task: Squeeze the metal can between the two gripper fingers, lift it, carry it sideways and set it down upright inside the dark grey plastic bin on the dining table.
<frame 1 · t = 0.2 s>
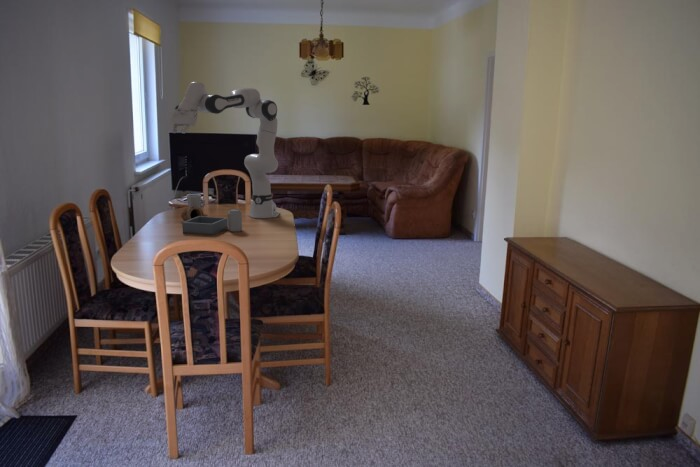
hand: (178, 132, 299), 54 cm above the table, tool tilted 30°, fingers open, 8 cm apart
cup: (196, 213, 360), on the table
clay pipe: (193, 222, 335), on the table
bin: (205, 230, 312), on the table
can: (235, 231, 312), on the table
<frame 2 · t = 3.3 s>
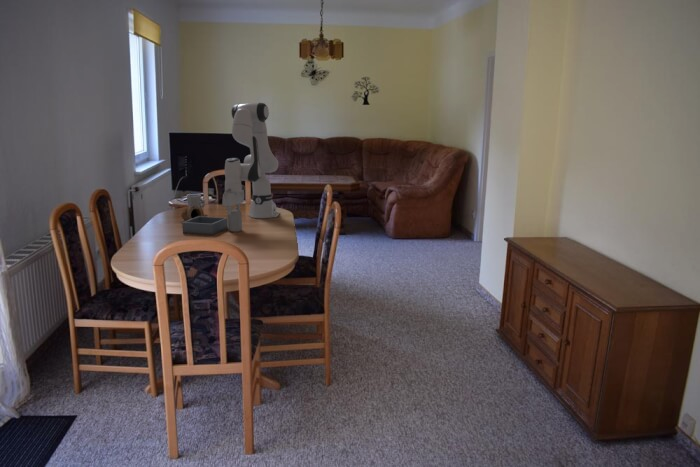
hand: (233, 212, 309), 10 cm above the table, tool pointing down, fingers open, 8 cm apart
can: (235, 231, 312), on the table, touching gripper
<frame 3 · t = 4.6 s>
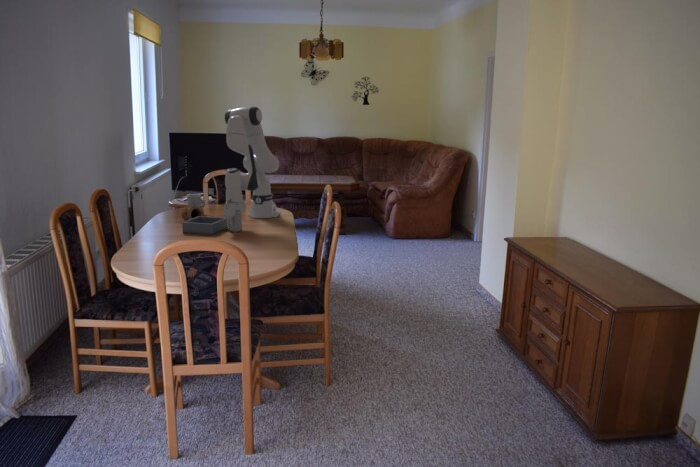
hand: (235, 222, 311), 5 cm above the table, tool pointing down, fingers closed on can, 7 cm apart
can: (235, 231, 312), on the table, touching gripper
when the fingers open (20 cm above the table, at t = 7.2 s): can drops 8 cm, resting on bin.
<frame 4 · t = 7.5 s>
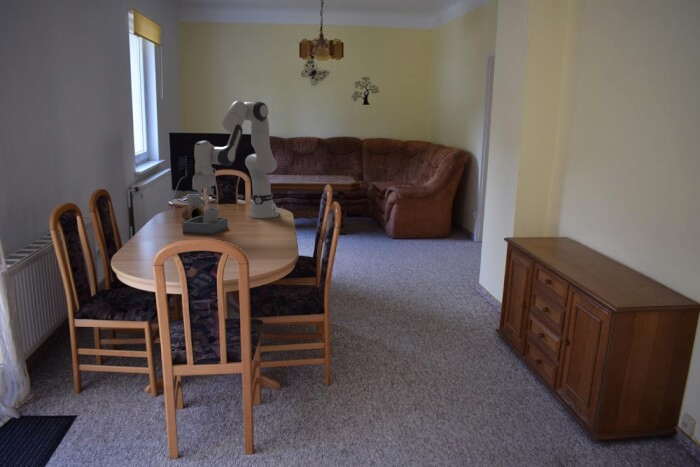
hand: (204, 196, 307), 19 cm above the table, tool pointing down, fingers open, 7 cm apart
can: (208, 227, 310), point 2 cm above the table, touching bin
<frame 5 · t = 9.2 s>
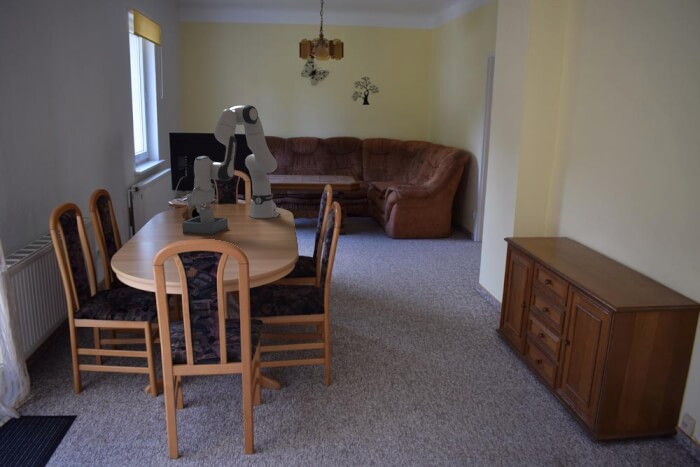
hand: (203, 211, 308), 11 cm above the table, tool pointing down, fingers open, 7 cm apart
can: (208, 228, 311), point 1 cm above the table, touching bin, gripper
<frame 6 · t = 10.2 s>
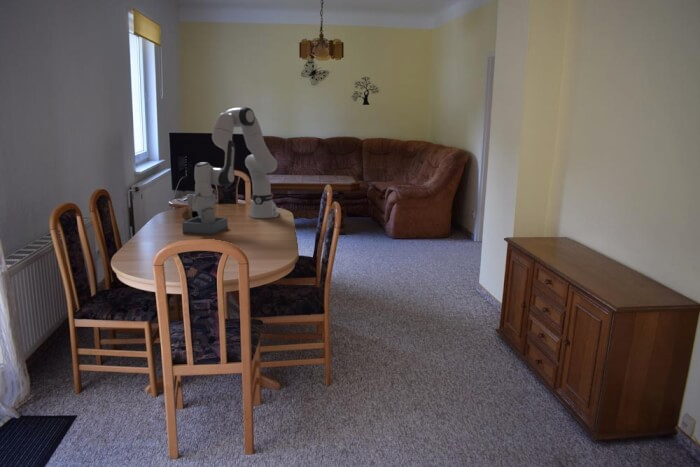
hand: (204, 216, 310), 8 cm above the table, tool pointing down, fingers closed on can, 7 cm apart
can: (208, 229, 311), point 1 cm above the table, touching bin, gripper
when the fingers open (8 cm above the table, at t = 10.4 s): can stays where it is, resting on bin.
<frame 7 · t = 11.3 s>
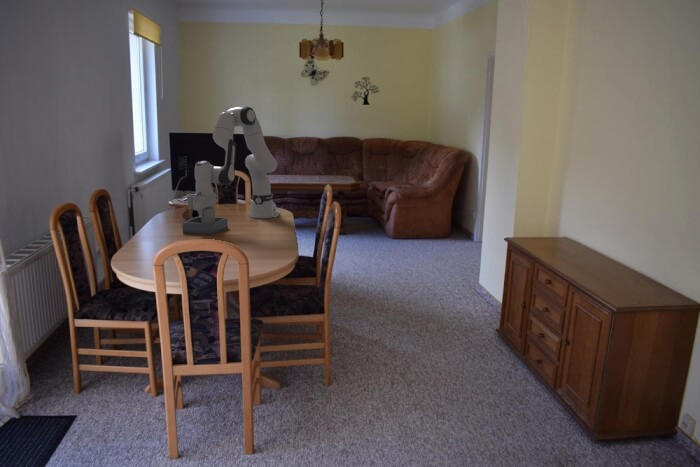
hand: (205, 215, 310), 8 cm above the table, tool pointing down, fingers open, 8 cm apart
can: (208, 229, 311), point 1 cm above the table, touching bin
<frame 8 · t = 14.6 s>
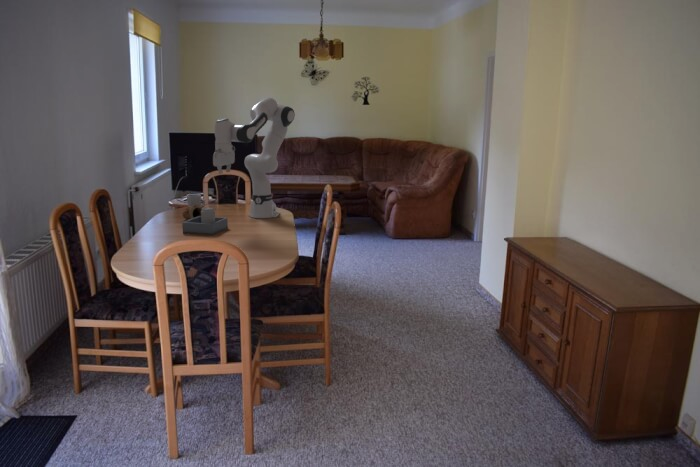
hand: (224, 173, 315), 31 cm above the table, tool pointing down, fingers open, 8 cm apart
at the end: can inside the target area on the bin (2.1 cm from its centre), point 0.8 cm above the bin's base; can tilted 0°; the gripper is holding nothing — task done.
